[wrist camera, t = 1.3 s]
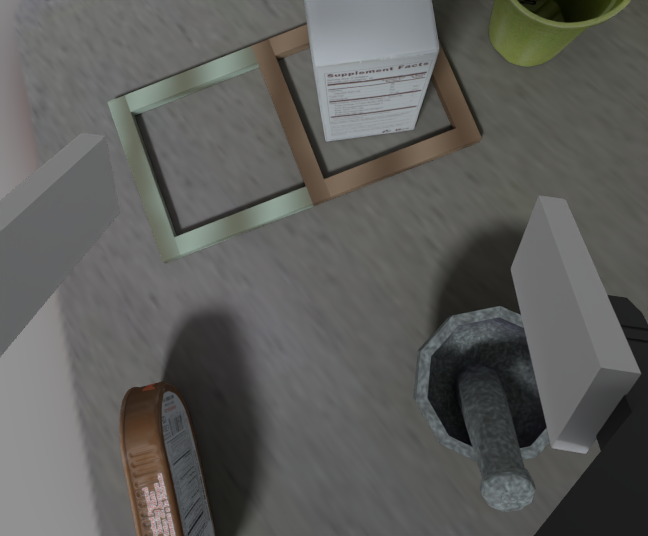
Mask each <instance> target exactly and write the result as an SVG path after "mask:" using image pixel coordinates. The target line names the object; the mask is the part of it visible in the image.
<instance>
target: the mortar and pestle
mask: <svg viewBox="0 0 648 536" xmlns="http://www.w3.org/2000/svg"><path fill="white" fill-rule="evenodd" d="M413 398H414V399H415V401H416V403H417V405H418V406H419V408H420V410H421V412H422V413H423V415H424V417H425V419H426V420H427V422H428V424H429V426H430V427H431V429H432V431H433V433H434V434H435V436H436V438H437V440H438V441H439V442H440V444H441V445H443V446H445V447H447V448H450V449H452V450H454V451H456V452H458V453H460V454H462V455H464V456H467V457H469V458H471V459H473V460H475V461H477V463H478V466H479V469H480V472H481V475H482V480H481V484H480V490H481V494H482V496H483V497H484V499H485V500H486V502H487V503H488V505H489V506H491V507H493V508H496V509H498V510H501V511H503V512H505V511H516V510H520V509H522V508H523V507H525V506H526V505H528V504H530V503H531V502H532V499H533V496H534V492H535V489H536V488H535V485H534V482H533V480H532V478H531V476H530V474H529V472H528V471H527V470H526V469H525V468H524V464H523V459H528V458H533V457H537V456H538V455H539V454H540V453H541V451H542V450H543V449H544V448H545V447H546V446H547V445H548V443H549V442H550V439H549V434H548V430H547V426H546V421H545V417H544V413H543V408H542V404H541V400H540V395H539V391H538V387H537V382H536V378H535V373H534V369H533V365H532V360H531V356H530V352H529V347H528V343H527V339H526V334H525V330H524V325H523V321H522V317H521V315H520V314H517V313H515V312H513V311H511V310H508V309H506V308H504V307H501V306H496V307H491V308H486V309H481V310H476V311H471V312H466V313H461V314H457V315H452V316H448V318H447V319H446V320H445V321H444V322H443V323H442V324H441V325H440V326H439V328H438V329H437V330H436V331H435V332H434V333H433V334H432V335H431V336H430V338H429V339H428V340H427V341H426V342H425V343H424V344H423V345H422V347H421V348H420V349H419V350H418V355H417V366H416V376H415V387H414V397H413Z"/></svg>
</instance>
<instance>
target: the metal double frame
mask: <svg viewBox="0 0 648 536" xmlns="http://www.w3.org/2000/svg"><path fill="white" fill-rule="evenodd" d="M438 43H439V53H438V56H437V60H436V63H435V66H434V69H433V72H432V75H431V79H432V82H433V84H434V86H435V89H436V91H437V93H438V96H439V98H440V100H441V102H442V105H443V107H444V109H445V112H446V114H447V116H448V119H449V121H450V123H451V126H452V128H453V130H450V131H447V132H445V133H442V134H440V135H437V136H435V137H432V138H429V139H427V140H424V141H422V142H419V143H416V144H414V145H411V146H409V147H406V148H404V149H401V150H398V151H396V152H393V153H391V154H388V155H386V156H383V157H380V158H378V159H375V160H373V161H370V162H367V163H365V164H362V165H360V166H357V167H355V168H352V169H349V170H347V171H344V172H342V173H339V174H336V175H334V176H331V177H329V178H326V179H324V178H323V176H322V173H321V171H320V168H319V166H318V163H317V160H316V158H315V155H314V153H313V150H312V148H311V145H310V143H309V140H308V138H307V135H306V132H305V130H304V127H303V125H302V122H301V120H300V117H299V115H298V112H297V110H296V107H295V105H294V102H293V99H292V97H291V94H290V92H289V89H288V87H287V84H286V82H285V79H284V77H283V74H282V72H281V69H280V66H279V64H278V61H277V60H279V59H281V58H284V57H287V56H289V55H292V54H294V53H297V52H299V51H302V50H305V49H307V48H310V42H309V35H308V28H307V24H306V25H304V26H301V27H298V28H296V29H293V30H291V31H288V32H286V33H283V34H281V35H278V36H275V37H273V38H270V39H268V40H265V41H263V42H260V43H257V44H255V45H252V46H250V47H247V48H245V49H242V50H240V51H237V52H234V53H232V54H229V55H227V56H224V57H222V58H219V59H216V60H214V61H211V62H209V63H206V64H204V65H201V66H198V67H196V68H193V69H191V70H188V71H186V72H183V73H181V74H178V75H175V76H173V77H170V78H168V79H165V80H163V81H160V82H157V83H155V84H152V85H150V86H147V87H145V88H142V89H140V90H137V91H134V92H132V93H129V94H127V95H124V96H122V97H119V98H116V99H114V100H111V101H109V102H108V105H109V108H110V111H111V114H112V117H113V120H114V123H115V125H116V128H117V131H118V134H119V137H120V140H121V143H122V146H123V149H124V152H125V154H126V157H127V160H128V163H129V166H130V169H131V172H132V175H133V178H134V181H135V184H136V186H137V189H138V192H139V195H140V198H141V201H142V204H143V207H144V210H145V213H146V215H147V218H148V221H149V224H150V227H151V230H152V233H153V236H154V239H155V242H156V244H157V247H158V250H159V253H160V256H161V259H162V262H164V263H168V262H171V261H173V260H176V259H179V258H181V257H184V256H186V255H189V254H191V253H194V252H197V251H199V250H202V249H204V248H207V247H210V246H212V245H215V244H217V243H220V242H222V241H225V240H228V239H230V238H233V237H235V236H238V235H241V234H243V233H246V232H248V231H251V230H253V229H256V228H259V227H261V226H264V225H266V224H269V223H272V222H274V221H277V220H279V219H282V218H284V217H287V216H290V215H292V214H295V213H297V212H300V211H303V210H305V209H308V208H310V207H313V206H315V205H318V204H321V203H323V202H326V201H328V200H331V199H334V198H336V197H339V196H341V195H344V194H346V193H349V192H352V191H354V190H357V189H359V188H362V187H365V186H367V185H370V184H372V183H375V182H377V181H380V180H383V179H385V178H388V177H390V176H393V175H396V174H398V173H401V172H403V171H406V170H409V169H411V168H414V167H416V166H419V165H421V164H424V163H427V162H429V161H432V160H434V159H437V158H440V157H442V156H445V155H447V154H450V153H452V152H455V151H458V150H460V149H463V148H465V147H468V146H471V145H473V144H476V143H478V142H480V140H481V139H482V137H481V135H480V133H479V131H478V128H477V126H476V124H475V122H474V119H473V117H472V115H471V112H470V110H469V108H468V106H467V103H466V101H465V99H464V97H463V94H462V92H461V90H460V87H459V85H458V83H457V81H456V78H455V76H454V74H453V71H452V69H451V67H450V65H449V62H448V60H447V58H446V56H445V53H444V51H443V49H442V46H441V44H440V42H439V40H438ZM258 67H260V70H261V72H262V75H263V77H264V80H265V83H266V85H267V88H268V90H269V93H270V95H271V98H272V101H273V103H274V106H275V108H276V111H277V113H278V116H279V119H280V121H281V124H282V126H283V129H284V132H285V134H286V137H287V139H288V142H289V144H290V147H291V150H292V152H293V155H294V157H295V160H296V162H297V165H298V168H299V170H300V173H301V175H302V178H303V180H304V183H305V187H303V188H300V189H298V190H295V191H293V192H290V193H287V194H285V195H282V196H280V197H277V198H275V199H272V200H269V201H267V202H264V203H262V204H259V205H256V206H254V207H251V208H249V209H246V210H244V211H241V212H238V213H236V214H233V215H231V216H228V217H225V218H223V219H220V220H218V221H215V222H213V223H210V224H207V225H205V226H202V227H200V228H197V229H194V230H192V231H189V232H187V233H184V234H182V235H179V236H176V233H175V230H174V227H173V224H172V221H171V219H170V216H169V213H168V210H167V207H166V204H165V201H164V199H163V196H162V193H161V190H160V187H159V184H158V181H157V179H156V176H155V173H154V170H153V167H152V164H151V161H150V159H149V156H148V153H147V150H146V147H145V144H144V141H143V139H142V136H141V133H140V130H139V127H138V124H137V121H136V119H135V115H138V114H140V113H143V112H145V111H148V110H151V109H153V108H156V107H158V106H161V105H163V104H166V103H169V102H171V101H174V100H176V99H179V98H181V97H184V96H186V95H189V94H192V93H194V92H197V91H199V90H202V89H204V88H207V87H210V86H212V85H215V84H217V83H220V82H222V81H225V80H228V79H230V78H233V77H235V76H238V75H240V74H243V73H246V72H248V71H251V70H253V69H256V68H258Z"/></svg>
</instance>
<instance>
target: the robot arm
mask: <svg viewBox="0 0 648 536" xmlns="http://www.w3.org/2000/svg"><path fill="white" fill-rule="evenodd" d="M119 213H120V208H119V203H118V198H117V192H116V187H115V182H114V177H113V171H112V166H111V161H110V156H109V150H108V145H107V140H106V136H102V135H95V134H87V133H81V134H80V135H78V136H77V137H76V138H75V139H74V140H72V141H71V142H70V143H69V144H68V145H66V146H65V147H64V148H63V149H62V150H60V151H59V152H58V153H57V154H56V155H54V156H53V157H52V158H51V159H50V160H48V161H47V162H46V163H45V164H44V165H42V166H41V167H40V168H39V169H38V170H36V171H35V172H34V173H33V174H31V175H30V176H29V177H28V178H27V179H25V180H24V181H23V182H22V183H21V184H19V185H18V186H17V187H16V188H15V189H14V190H12V191H11V192H10V193H9V194H7V195H6V196H5V197H4V198H3V199H1V200H0V356H1V355H2V354H3V353H4V352H5V351H6V349H7V348H8V347H9V346H10V344H11V343H12V342H13V341H14V340H15V339H16V337H17V336H18V335H19V334H20V332H21V331H22V330H23V329H24V328H25V326H26V325H27V324H28V323H29V321H30V320H31V319H32V318H33V317H34V315H35V314H36V313H37V312H38V311H39V309H40V308H41V307H42V306H43V305H44V303H45V302H46V301H47V300H48V299H49V297H50V296H51V295H52V294H53V293H54V291H55V290H56V289H57V288H58V287H59V285H60V284H61V283H62V282H63V281H64V279H65V278H66V277H67V276H68V275H69V273H70V272H71V271H72V270H73V268H74V267H75V266H76V265H77V264H78V262H79V261H80V260H81V259H82V258H83V256H84V255H85V254H86V253H87V252H88V250H89V249H90V248H91V247H92V246H93V244H94V243H95V242H96V241H97V239H98V238H99V237H100V236H101V235H102V233H103V232H104V231H105V230H106V229H107V227H108V226H109V225H110V224H111V223H112V221H113V220H114V219H115V218H116V217H117V215H118V214H119ZM511 273H512V277H513V282H514V286H515V291H516V295H517V299H518V304H519V308H520V312H521V317H522V321H523V325H524V330H525V334H526V339H527V343H528V347H529V352H530V356H531V360H532V365H533V369H534V373H535V378H536V382H537V387H538V391H539V395H540V400H541V404H542V408H543V413H544V417H545V421H546V426H547V430H548V434H549V439H550V443H551V448H555V449H561V450H567V451H573V452H579V453H585V454H586V453H587V451H588V450H589V448H590V447H591V446H592V444H593V443H594V441H595V440H596V438H597V440H598V443H599V447H600V450H601V452H600V453H599V454H598V456H597V457H596V458H595V459H594V461H593V462H592V463H591V464H590V466H589V467H588V468H587V469H586V471H585V472H584V473H583V474H582V476H581V477H580V478H579V480H578V481H577V482H576V483H575V485H574V486H573V487H572V488H571V490H570V491H569V492H568V493H567V495H566V496H565V497H564V498H563V500H562V501H561V502H560V503H559V505H558V506H557V507H556V508H555V510H554V511H553V512H552V514H551V515H550V516H549V517H548V519H547V520H546V521H545V522H544V524H543V525H542V526H541V527H540V529H539V530H538V531H537V532H536V534H535V535H534V536H648V324H647V322H646V320H645V318H644V316H643V314H642V312H640V311H639V310H638V309H637V308H636V307H635V306H634V305H633V304H632V303H631V302H630V301H629V300H628V299H627V298H624V297H617V296H610V295H607V294H606V291H605V289H604V287H603V284H602V282H601V280H600V278H599V275H598V273H597V271H596V268H595V266H594V264H593V261H592V259H591V257H590V255H589V252H588V250H587V248H586V245H585V243H584V241H583V239H582V236H581V234H580V232H579V229H578V227H577V225H576V222H575V220H574V218H573V216H572V213H571V211H570V209H569V206H568V204H567V202H566V199H561V198H554V197H546V196H538V199H537V201H536V204H535V207H534V209H533V212H532V214H531V217H530V220H529V222H528V225H527V227H526V230H525V233H524V235H523V238H522V240H521V243H520V245H519V248H518V251H517V253H516V256H515V258H514V261H513V264H512V266H511Z"/></svg>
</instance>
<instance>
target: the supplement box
mask: <svg viewBox="0 0 648 536" xmlns="http://www.w3.org/2000/svg"><path fill="white" fill-rule="evenodd" d="M304 4H305V13H306V21H307V28H308V35H309V42H310V49H311V55H312V62H313V68H314V74H315V81H316V87H317V93H318V99H319V105H320V111H321V117H322V123H323V128H324V135H325V140H326V141H333V140H342V139H348V138H356V137H363V136H371V135H378V134H386V133H393V132H399V131H407V130H413V129H414V128H415V125H416V122H417V119H418V115H419V112H420V109H421V106H422V103H423V99H424V96H425V93H426V90H427V87H428V84H429V81H430V78H431V75H432V72H433V69H434V66H435V63H436V60H437V56H438V53H439V43H438V36H437V30H436V24H435V18H434V12H433V5H432V0H304Z"/></svg>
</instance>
